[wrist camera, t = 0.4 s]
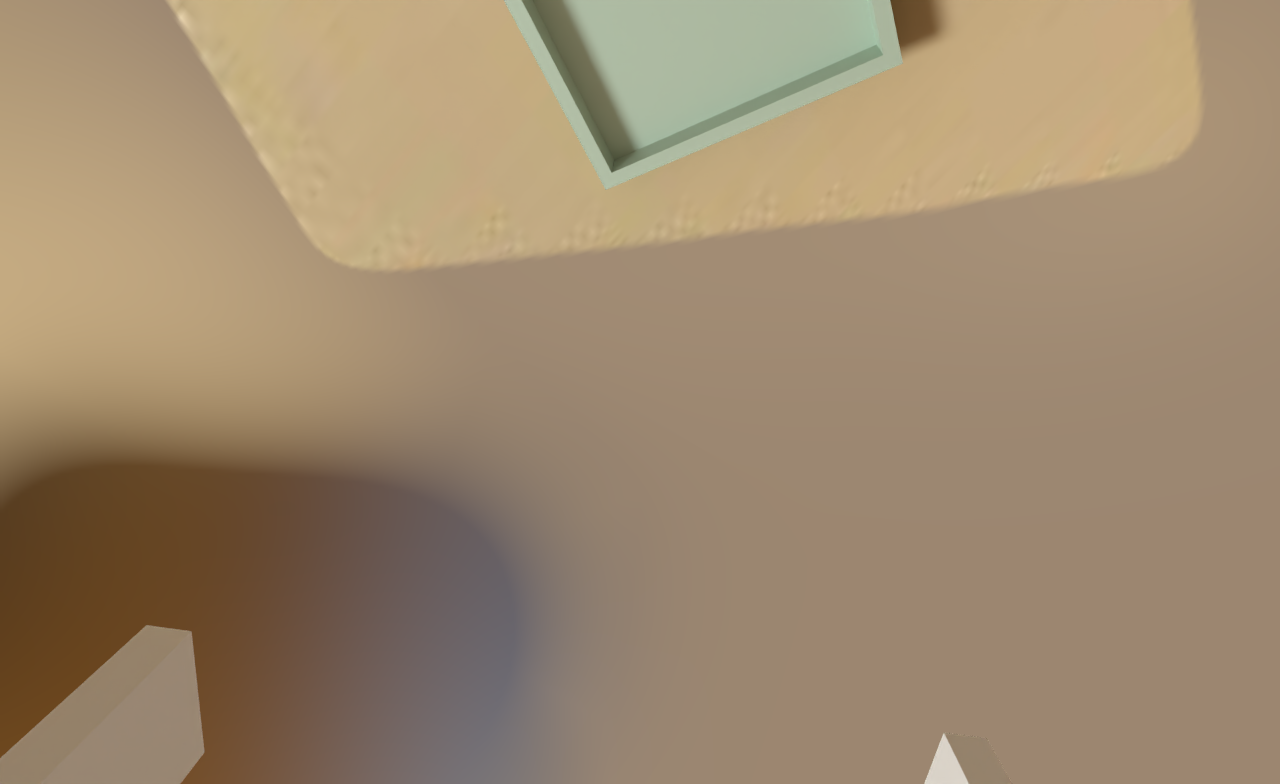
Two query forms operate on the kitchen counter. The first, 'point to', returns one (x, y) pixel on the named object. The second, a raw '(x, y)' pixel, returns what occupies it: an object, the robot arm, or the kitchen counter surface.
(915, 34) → the kitchen counter surface
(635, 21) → the collection tray
